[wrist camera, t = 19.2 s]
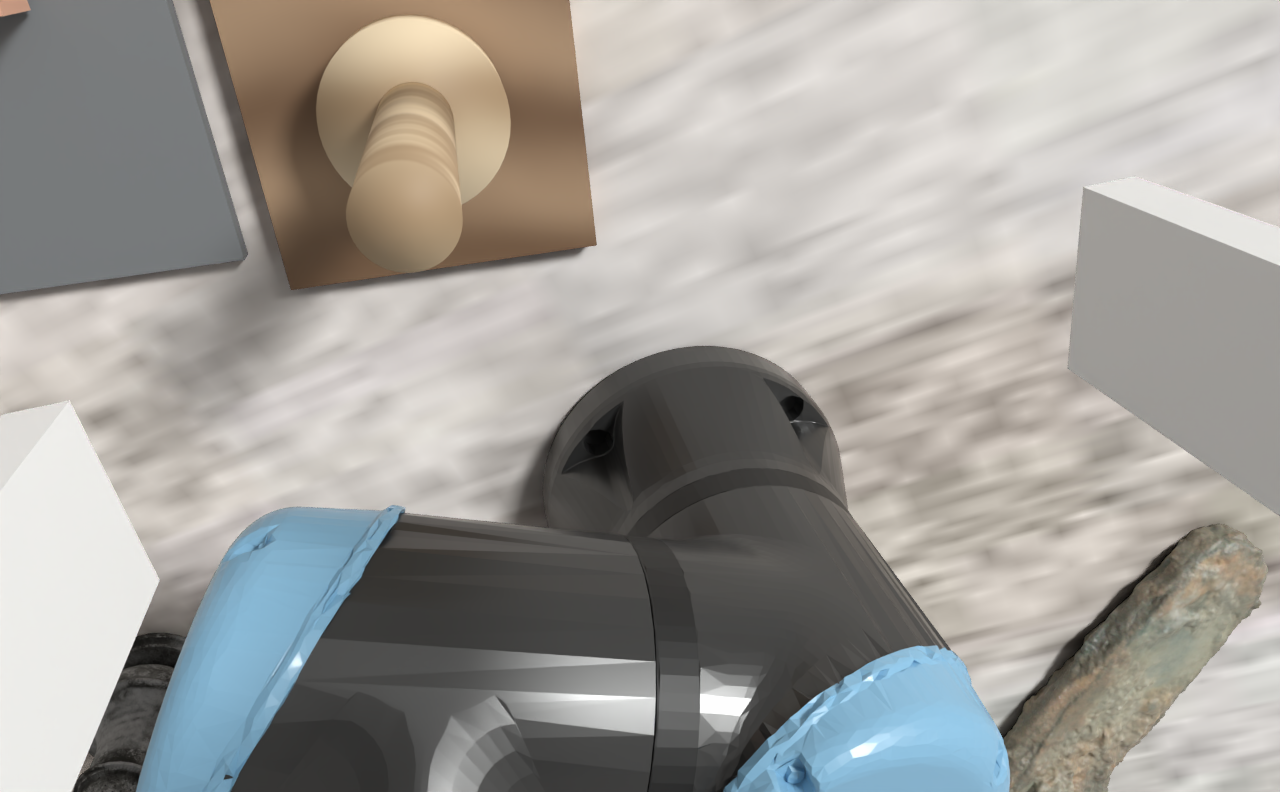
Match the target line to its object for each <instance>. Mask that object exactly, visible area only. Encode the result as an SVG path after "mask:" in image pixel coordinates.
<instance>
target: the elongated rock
mask: <svg viewBox="0 0 1280 792" xmlns="http://www.w3.org/2000/svg"><path fill="white" fill-rule="evenodd" d="M1267 573H1268V568H1267V566H1266V564H1265V562H1264V560H1263V555H1262V550H1260V549H1258V548H1256V547H1254V545H1253V544H1252V543H1251V542H1250V541H1248V539H1247V536H1246V535H1245V534H1244V533H1242V532H1240V531H1237V530H1235V529H1234V528H1230V527H1228V526H1227V525H1224V524H1216V525H1212V526H1209V527H1202V528H1198V529H1194V530H1192V531H1191V532H1190V533H1189V534H1188V535H1187V537H1185V538H1184V539H1181V540H1180V541H1179V542H1178V544H1177V546H1176V548H1175V549H1174V550H1172V552H1171V553H1170V554H1169V555H1168V556H1166V558H1165V559H1164V561H1162V562H1161V565H1160V566H1159V567H1158V568H1156V569H1155V570H1154V571H1152V572H1151V573H1150V574H1148V575H1147V576H1146V577H1145V578H1144V579H1143V580H1142V581H1141V582H1140V583H1138V584H1137V585H1136V587H1135V588H1134V590H1133V592H1132V594H1131V595H1130V596H1129V597H1128V598H1127V599H1125V600H1124V601H1123V602H1122V603H1121V604H1120V605H1118V606H1117V607H1116V609H1115V610H1114V611H1113V612H1111V614H1110V615H1109V616H1108V618H1107V619H1106V620H1105V621H1104V622H1102V623H1100V625H1098V626H1097V627H1096V628H1095V629H1093V630H1092V631H1090V633H1089V634H1087V635H1086V636H1085V638H1084V643H1083V646H1082V647H1081V648H1080V649H1079V650H1078V651H1077V652H1076V653H1075V655H1074V656H1073V657H1071V658H1070V659H1069V660H1068V661H1066V663H1064V666H1063V667H1062V668H1061V669H1059V670H1056V671H1055V672H1054V673H1053V675H1052V677H1051V678H1050V679H1049V682H1048V683H1047V685H1046V686H1044V687H1043V688H1041V689H1040V690H1039V691H1038V692H1037V694H1036V695H1035V696H1031V698H1030V699H1029V700H1027V701H1026V702H1025V703H1024V706H1023V711H1022V713H1021V715H1020V716H1019V718H1018V720H1017V722H1016V724H1015V725H1014V726H1013V728H1012V730H1010V731H1008V733H1007V734H1006V736H1005V737H1004V739H1003V740H1004V745H1005V748H1006V750H1007V754H1008V760H1009V768H1010V787H1009V792H1108V788H1107V786H1108V784H1109V780H1110V775H1111V773H1112V771H1113V770H1114V767H1115V766H1117V765H1119V762H1122V761H1123V758H1124V757H1125V755H1126V753H1127V752H1129V750H1130V749H1131V748H1132V747H1134V746H1135V745H1137V744H1139V743H1140V742H1141V739H1142V738H1143V737H1145V736H1146V735H1147V734H1148V732H1149V731H1151V730H1152V728H1153V726H1155V725H1156V724H1157V723H1158V722H1159V721H1160V719H1161V718H1163V717H1164V716H1165V712H1166V710H1168V709H1169V708H1170V706H1171V705H1172V704H1173V702H1174V701H1175V699H1176V698H1177V697H1178V695H1179V694H1180V693H1182V692H1183V691H1185V690H1186V688H1187V686H1188V685H1189V684H1190V683H1191V682H1192V681H1193V680H1194V679H1195V678H1196V677H1197V675H1198V674H1199V673H1200V672H1201V669H1202V668H1203V666H1205V665H1206V664H1207V662H1208V661H1209V659H1210V658H1212V657H1213V656H1214V655H1215V654H1216V653H1217V652H1218V651H1219V650H1220V647H1221V646H1223V645H1224V643H1225V642H1226V641H1227V639H1228V636H1229V635H1230V634H1231V633H1232V631H1233V630H1234V629H1235V628H1236V627H1237V625H1238V624H1239V623H1241V620H1243V619H1245V618H1247V617H1248V616H1250V614H1251V612H1252V610H1253V609H1256V608H1259V606H1260V605H1261V602H1260V600H1259V597H1260V595H1261V592H1262V589H1263V584H1264V582H1265V580H1266V575H1267Z"/></svg>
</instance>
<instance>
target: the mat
mask: <svg viewBox="0 0 1280 792" xmlns="http://www.w3.org/2000/svg"><path fill="white" fill-rule="evenodd" d="M27 1H28V4H29V6H30V9H31V10H30V11H25V12H21V13H16V14H11V15H7V16H1V17H0V294H6V293H13V292H21V291H28V290H35V289H42V288H49V287H56V286H63V285H70V284H77V283H84V282H91V281H98V280H105V279H112V278H120V277H127V276H134V275H141V274H148V273H155V272H162V271H169V270H176V269H183V268H190V267H197V266H204V265H211V264H219V263H226V262H233V261H240V260H245V258H246V256H247V254H248V252H247V249H246V246H245V242H244V239H243V236H242V232H241V229H240V226H239V222H238V219H237V216H236V212H235V209H234V206H233V202H232V199H231V196H230V192H229V189H228V185H227V182H226V179H225V175H224V172H223V169H222V165H221V162H220V159H219V155H218V152H217V149H216V145H215V142H214V139H213V135H212V132H211V128H210V125H209V122H208V118H207V115H206V112H205V108H204V105H203V102H202V98H201V95H200V92H199V88H198V85H197V82H196V78H195V75H194V72H193V68H192V65H191V61H190V58H189V55H188V51H187V48H186V45H185V41H184V38H183V35H182V31H181V28H180V25H179V21H178V18H177V15H176V11H175V8H174V5H173V1H172V0H27Z"/></svg>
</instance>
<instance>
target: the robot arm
mask: <svg viewBox="0 0 1280 792" xmlns="http://www.w3.org/2000/svg"><path fill="white" fill-rule="evenodd" d="M1068 369H1069V370H1071V371H1072V372H1073V373H1075V374H1076V375H1078V376H1079V377H1081V378H1082V379H1083V380H1085V381H1086V382H1088V383H1089V384H1091V385H1092V386H1094V387H1095V388H1096V389H1098V390H1099V391H1101V392H1102V393H1104V394H1105V395H1106V396H1108V397H1109V398H1111V399H1112V400H1114V401H1115V402H1117V403H1118V404H1119V405H1121V406H1122V407H1124V408H1125V409H1127V410H1128V411H1129V412H1131V413H1132V414H1134V415H1135V416H1137V417H1138V418H1140V419H1141V420H1142V421H1144V422H1145V423H1147V424H1148V425H1150V426H1151V427H1152V428H1154V429H1155V430H1157V431H1158V432H1160V433H1161V434H1162V435H1164V436H1165V437H1167V438H1168V439H1170V440H1171V441H1173V442H1174V443H1175V444H1177V445H1178V446H1180V447H1181V448H1183V449H1184V450H1185V451H1187V452H1188V453H1190V454H1191V455H1193V456H1194V457H1196V458H1197V459H1198V460H1200V461H1201V462H1203V463H1204V464H1206V465H1207V466H1208V467H1210V468H1211V469H1213V470H1214V471H1216V472H1217V473H1219V474H1220V475H1221V476H1223V477H1224V478H1226V479H1227V480H1229V481H1230V482H1231V483H1233V484H1234V485H1236V486H1237V487H1239V488H1240V489H1241V490H1243V491H1244V492H1246V493H1247V494H1249V495H1250V496H1252V497H1253V498H1254V499H1256V500H1257V501H1259V502H1260V503H1262V504H1263V505H1264V506H1266V507H1267V508H1269V509H1270V510H1272V511H1273V512H1275V513H1276V514H1277V515H1279V516H1280V227H1277V226H1275V225H1272V224H1269V223H1266V222H1263V221H1261V220H1258V219H1255V218H1252V217H1249V216H1247V215H1244V214H1241V213H1238V212H1235V211H1232V210H1230V209H1227V208H1224V207H1221V206H1218V205H1216V204H1213V203H1210V202H1207V201H1204V200H1202V199H1199V198H1196V197H1193V196H1190V195H1187V194H1185V193H1182V192H1179V191H1176V190H1173V189H1171V188H1168V187H1165V186H1162V185H1159V184H1157V183H1154V182H1151V181H1148V180H1145V179H1142V178H1140V177H1137V176H1133V177H1128V178H1123V179H1119V180H1114V181H1109V182H1104V183H1100V184H1095V185H1090V186H1085V187H1083V196H1082V208H1081V219H1080V231H1079V242H1078V254H1077V265H1076V277H1075V288H1074V300H1073V311H1072V323H1071V334H1070V346H1069V357H1068ZM543 501H544V508H545V513H546V518H547V523H548V528H545V527H536V526H526V525H516V524H507V523H497V522H487V521H478V520H468V519H458V518H449V517H439V516H429V515H420V514H410V513H405V507H401V506H395V505H391V506H390V507H388V508H386V509H385V510H383V511H379V510H357V509H335V508H313V507H289V508H284V509H279V510H276V511H273V512H271V513H268V514H266V515H264V516H262V517H261V518H259V519H258V520H256V521H255V522H253V523H252V524H251V525H250V526H248V527H247V528H246V529H245V530H244V531H243V532H242V533H241V534H240V535H239V536H238V538H237V539H236V540H235V541H234V543H233V544H232V545H231V546H230V548H229V549H228V551H227V553H226V554H225V556H224V557H223V559H222V561H221V563H220V565H219V566H218V568H217V570H216V572H215V574H214V576H213V578H212V580H211V582H210V584H209V586H208V588H207V590H206V592H205V595H204V597H203V599H202V601H201V603H200V606H199V608H198V610H197V613H196V615H195V617H194V619H193V622H192V624H191V627H190V630H189V632H188V635H187V637H186V640H185V642H184V645H183V647H182V650H181V653H180V655H179V658H178V660H177V663H176V666H175V668H174V671H173V674H172V677H171V679H170V682H169V685H168V688H167V691H166V694H165V697H164V700H163V703H162V705H161V708H160V711H159V714H158V717H157V720H156V724H155V727H154V730H153V733H152V736H151V740H150V743H149V746H148V749H147V753H146V756H145V760H144V763H143V766H142V770H141V773H140V777H139V781H138V785H137V789H136V792H1009V787H1010V768H1009V760H1008V754H1007V750H1006V748H1005V745H1004V740H1003V738H1002V736H1001V734H1000V732H999V730H998V728H997V726H996V725H995V723H994V721H993V720H992V718H991V716H990V715H989V713H988V712H987V710H986V708H985V707H984V705H983V703H982V702H981V700H980V699H979V697H978V695H977V694H976V692H975V690H974V689H973V687H972V685H971V679H970V677H969V675H968V672H967V668H966V666H965V664H964V663H963V662H962V660H961V659H960V658H959V657H958V656H957V655H956V654H955V653H954V652H953V651H951V649H950V648H949V647H948V645H947V644H946V643H945V641H944V640H943V638H942V637H941V636H940V634H939V633H938V632H937V630H936V629H935V628H934V626H933V625H932V624H931V622H930V621H929V620H928V618H927V617H926V616H925V614H924V613H923V611H922V610H921V609H920V607H919V606H918V605H917V603H916V602H915V601H914V599H913V598H912V597H911V595H910V594H909V593H908V591H907V590H906V589H905V587H904V586H903V584H902V583H901V582H900V580H899V579H898V578H897V576H896V575H895V574H894V572H893V571H892V570H891V568H890V567H889V566H888V564H887V563H886V561H885V560H884V559H883V557H882V556H881V555H880V553H879V552H878V551H877V549H876V548H875V547H874V545H873V544H872V543H871V541H870V540H869V539H868V537H867V536H866V534H865V533H864V532H863V530H862V529H861V528H860V526H859V525H858V524H857V523H856V521H855V520H854V519H853V517H852V516H851V514H850V513H849V511H848V505H847V499H846V492H845V485H844V478H843V471H842V465H841V458H840V453H839V448H838V445H837V441H836V439H835V436H834V434H833V431H832V429H831V427H830V425H829V423H828V421H827V419H826V417H825V416H824V414H823V413H822V411H821V410H820V408H819V407H818V406H817V404H816V403H815V402H814V401H813V399H812V398H811V397H810V396H809V394H808V393H807V392H806V391H805V389H804V388H803V387H802V386H801V385H800V384H799V383H798V381H797V380H796V379H794V378H793V377H792V376H791V375H790V374H789V373H787V372H786V371H785V370H783V369H782V368H781V367H779V366H777V365H776V364H774V363H772V362H770V361H768V360H767V359H765V358H762V357H760V356H757V355H755V354H752V353H749V352H746V351H742V350H737V349H733V348H726V347H716V346H694V347H684V348H678V349H673V350H668V351H664V352H660V353H656V354H654V355H651V356H648V357H645V358H642V359H640V360H638V361H635V362H633V363H631V364H629V365H627V366H625V367H623V368H622V369H620V370H618V371H616V372H615V373H613V374H612V375H610V376H609V377H607V378H606V379H604V380H603V381H602V382H601V383H599V384H598V385H597V386H595V387H594V388H593V389H592V390H591V391H590V392H589V393H588V394H586V395H585V397H584V398H583V399H582V400H581V401H580V402H579V403H578V404H577V405H576V406H575V408H574V409H573V410H572V411H571V412H570V414H569V415H568V417H567V418H566V419H565V421H564V423H563V424H562V426H561V427H560V429H559V431H558V433H557V435H556V437H555V439H554V441H553V444H552V446H551V448H550V451H549V454H548V457H547V461H546V466H545V471H544V477H543ZM159 581H160V580H159V578H158V576H157V574H156V572H155V570H154V568H153V566H152V564H151V562H150V560H149V558H148V556H147V554H146V552H145V550H144V548H143V546H142V544H141V542H140V540H139V538H138V536H137V534H136V532H135V530H134V528H133V526H132V524H131V522H130V520H129V518H128V516H127V514H126V512H125V510H124V508H123V506H122V504H121V502H120V500H119V498H118V496H117V494H116V492H115V490H114V488H113V486H112V484H111V482H110V480H109V478H108V476H107V474H106V472H105V470H104V468H103V466H102V464H101V462H100V460H99V458H98V456H97V454H96V452H95V450H94V448H93V446H92V444H91V442H90V440H89V438H88V436H87V434H86V432H85V430H84V428H83V426H82V424H81V422H80V420H79V418H78V416H77V414H76V412H75V410H74V408H73V406H72V404H71V402H70V400H69V401H64V402H60V403H55V404H50V405H46V406H41V407H36V408H31V409H27V410H22V411H17V412H12V413H8V414H3V415H1V417H0V792H72V790H73V787H74V785H75V782H76V780H77V778H78V775H79V773H80V770H81V768H82V766H83V763H84V761H85V758H86V756H87V754H88V751H89V749H90V746H91V744H92V742H93V739H94V737H95V734H96V732H97V730H98V727H99V725H100V722H101V720H102V718H103V715H104V713H105V710H106V708H107V706H108V703H109V701H110V698H111V696H112V693H113V691H114V689H115V686H116V684H117V681H118V679H119V677H120V674H121V672H122V669H123V667H124V665H125V662H126V660H127V657H128V655H129V653H130V650H131V648H132V645H133V643H134V641H135V638H136V636H137V633H138V631H139V629H140V626H141V624H142V621H143V619H144V617H145V614H146V612H147V609H148V607H149V605H150V602H151V600H152V597H153V595H154V593H155V590H156V588H157V585H158V583H159Z"/></svg>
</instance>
